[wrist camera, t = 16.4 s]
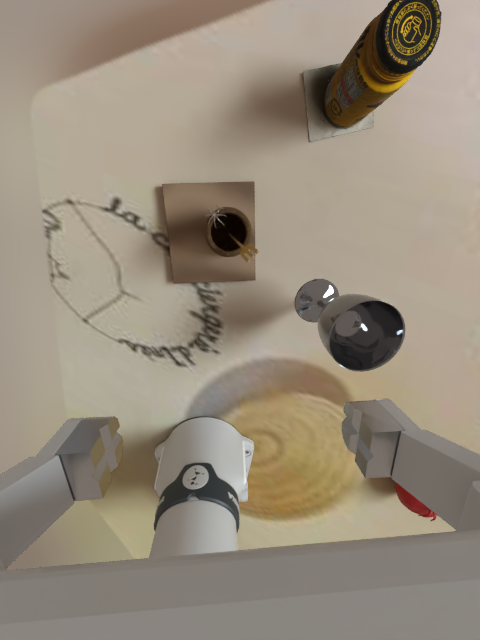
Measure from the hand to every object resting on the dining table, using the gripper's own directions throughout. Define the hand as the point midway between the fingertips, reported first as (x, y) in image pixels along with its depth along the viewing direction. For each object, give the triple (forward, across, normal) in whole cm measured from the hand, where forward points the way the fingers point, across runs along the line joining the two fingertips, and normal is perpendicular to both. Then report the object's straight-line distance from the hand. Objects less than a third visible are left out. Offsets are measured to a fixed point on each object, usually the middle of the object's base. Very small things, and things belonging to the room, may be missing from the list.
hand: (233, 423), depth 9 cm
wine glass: (+31, +14, -4) cm, 34 cm away
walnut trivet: (+31, -2, +7) cm, 31 cm away
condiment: (+31, +15, +22) cm, 41 cm away
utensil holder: (+30, 0, +7) cm, 30 cm away
